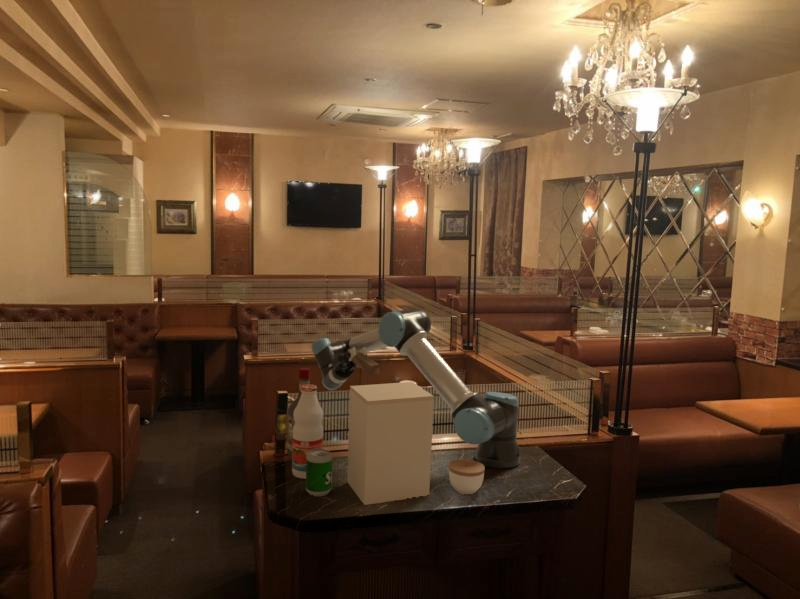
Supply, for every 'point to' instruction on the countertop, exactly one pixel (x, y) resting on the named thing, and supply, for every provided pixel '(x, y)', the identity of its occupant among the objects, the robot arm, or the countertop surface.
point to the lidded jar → (466, 475)
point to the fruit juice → (306, 429)
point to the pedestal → (389, 441)
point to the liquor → (303, 380)
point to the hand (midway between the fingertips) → (359, 351)
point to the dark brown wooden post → (366, 363)
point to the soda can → (319, 472)
